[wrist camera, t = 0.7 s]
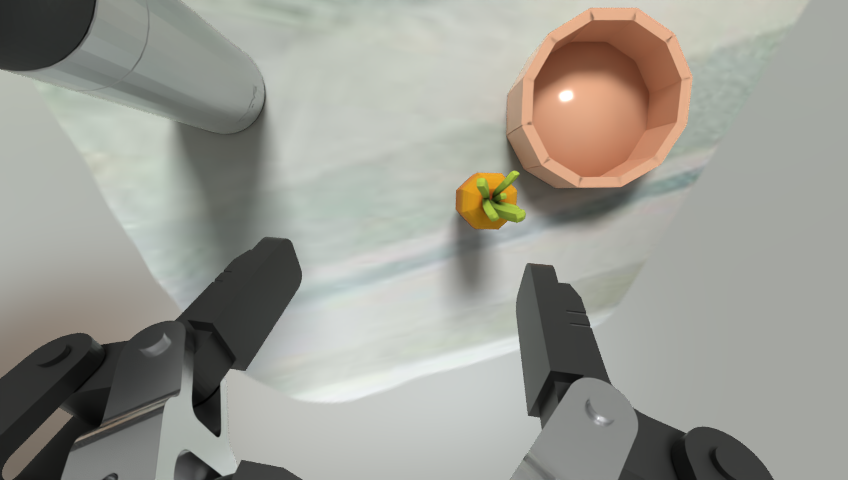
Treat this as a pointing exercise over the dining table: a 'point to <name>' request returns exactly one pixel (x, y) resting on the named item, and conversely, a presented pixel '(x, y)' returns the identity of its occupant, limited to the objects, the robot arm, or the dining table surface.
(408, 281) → the dining table surface
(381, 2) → the dining table surface
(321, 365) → the dining table surface
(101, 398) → the robot arm
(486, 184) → the carrot
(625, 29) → the terracotta bowl
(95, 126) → the dining table surface
